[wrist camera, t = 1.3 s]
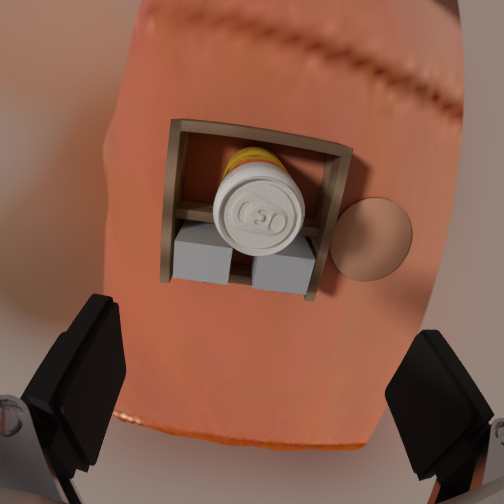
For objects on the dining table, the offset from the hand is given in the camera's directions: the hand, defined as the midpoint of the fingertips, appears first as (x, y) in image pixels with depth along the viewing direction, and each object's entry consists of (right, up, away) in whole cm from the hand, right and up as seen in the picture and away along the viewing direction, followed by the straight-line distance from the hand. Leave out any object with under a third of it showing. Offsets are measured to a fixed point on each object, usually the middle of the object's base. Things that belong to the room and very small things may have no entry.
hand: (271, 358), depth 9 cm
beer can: (0, +12, +24) cm, 27 cm away
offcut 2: (+2, +4, +28) cm, 28 cm away
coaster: (+14, +5, +28) cm, 31 cm away
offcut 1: (-6, +5, +27) cm, 28 cm away
